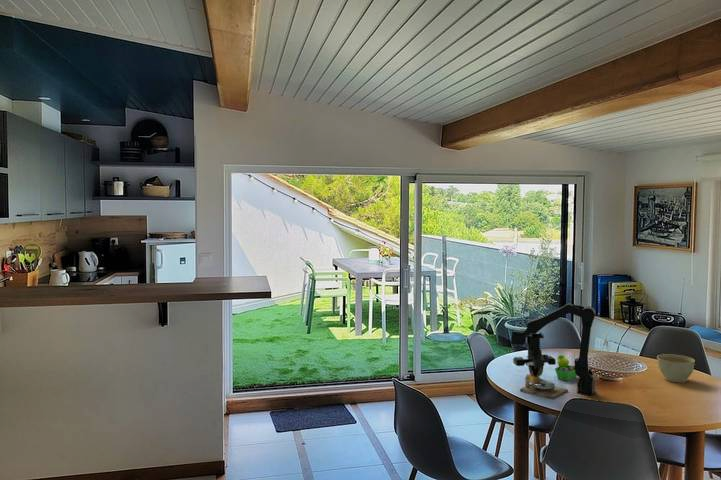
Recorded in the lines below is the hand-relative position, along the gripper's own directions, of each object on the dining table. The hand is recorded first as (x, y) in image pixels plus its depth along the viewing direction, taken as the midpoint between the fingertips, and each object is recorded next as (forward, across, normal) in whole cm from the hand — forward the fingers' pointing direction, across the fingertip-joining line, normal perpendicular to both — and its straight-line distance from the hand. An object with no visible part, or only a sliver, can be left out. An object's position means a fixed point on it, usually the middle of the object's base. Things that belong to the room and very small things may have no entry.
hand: (534, 378), depth 255 cm
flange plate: (+1, 0, -6) cm, 6 cm away
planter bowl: (+6, +72, +7) cm, 73 cm away
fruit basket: (+5, +20, +13) cm, 24 cm away
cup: (+4, +5, +12) cm, 13 cm away
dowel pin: (+3, -5, -4) cm, 7 cm away
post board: (+4, +1, -8) cm, 9 cm away
